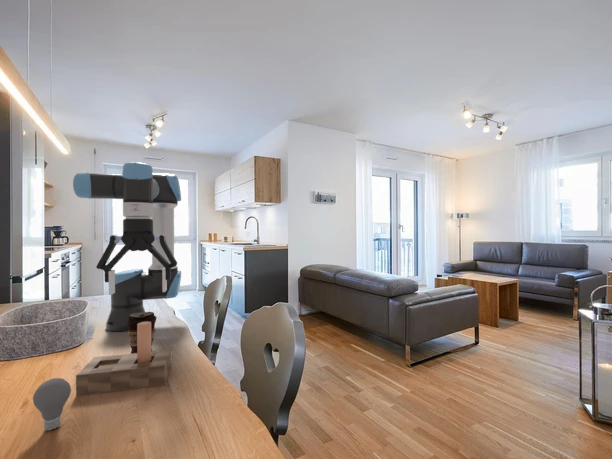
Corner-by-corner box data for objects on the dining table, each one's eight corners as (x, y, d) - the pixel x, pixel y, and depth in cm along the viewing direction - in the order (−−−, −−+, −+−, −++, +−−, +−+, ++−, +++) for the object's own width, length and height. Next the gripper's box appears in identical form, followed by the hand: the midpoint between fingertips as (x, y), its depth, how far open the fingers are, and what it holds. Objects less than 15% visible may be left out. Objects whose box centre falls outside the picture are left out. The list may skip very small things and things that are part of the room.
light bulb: (48, 419, 66) (47, 373, 66) (77, 418, 67) (77, 372, 67) (25, 438, 60) (24, 387, 60) (57, 437, 61) (57, 386, 61)
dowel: (139, 372, 86) (139, 322, 86) (152, 370, 87) (152, 321, 87) (135, 378, 82) (135, 325, 82) (149, 376, 83) (149, 324, 83)
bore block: (94, 375, 86) (94, 357, 86) (171, 366, 92) (171, 349, 91) (76, 395, 76) (76, 375, 76) (164, 384, 81) (164, 365, 81)
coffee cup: (143, 360, 96) (143, 318, 96) (120, 357, 98) (120, 316, 98) (161, 349, 105) (161, 311, 105) (140, 347, 106) (140, 309, 106)
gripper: (81, 217, 81) (82, 298, 81) (183, 218, 88) (184, 292, 88) (93, 217, 88) (93, 291, 89) (186, 218, 95) (186, 287, 95)
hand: (138, 292), depth 88 cm, fingers open, 13 cm apart
